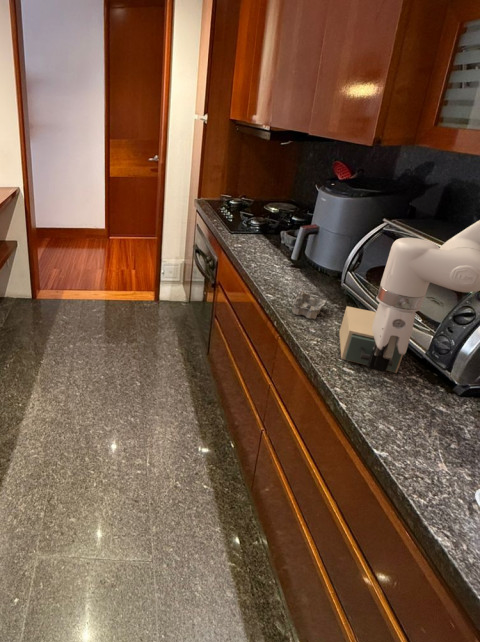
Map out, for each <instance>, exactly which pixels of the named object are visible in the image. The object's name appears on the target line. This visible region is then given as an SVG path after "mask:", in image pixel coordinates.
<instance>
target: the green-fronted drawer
mask: <svg viewBox="0 0 480 642" xmlns="http://www.w3.org/2000/svg"><path fill="white" fill-rule="evenodd" d="M374 342H375V339H370V338H366V337H362V336H361V335H356V334H352V335H351V338H350V341H349V345H348V348H347V352H346V355H345V359H346V360H345V361H348V360H350V361H349V362H352V361H354V362H353V363H356V362H358V363H357V364H360V363H362V364H361V365H364V364H366V365H365V366H368V361H369V358H370V355H371V352H372V350H373V345H374ZM373 351H375V350H373ZM400 358H401V354H399V352H398V349H397V346H395V349H394V353H393V357H392V360H390V361H389V364H388V367H387V369H386V371H387V370H389V371H388V372H391V371H393V372H392V373H395V372H396V369H397V366H398V363H399V361H400Z"/></svg>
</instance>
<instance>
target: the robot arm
mask: <svg viewBox="0 0 480 642" xmlns="http://www.w3.org/2000/svg"><path fill="white" fill-rule="evenodd" d="M430 283H431V284H434V285H437V286H439V287H443V288H445V289H449V290H452V291H455V292H461V293H475V292H476V293H477V292H479V291H480V219H479V220H477V221H476V222H474V223H472V224H471V225H469V226H468V227H466V228H465V229H463V230H462V231H460V232H459V233H457V234H455V235H454V236H452V237H451V238H449V239H448V240H446V241H445V242H444V243H443V244H442V245H441V246H440V247H439V246H438V245H437V244H436V243H434V242H432V241H429V240H426V239H424V238H423V239H422V238H419V237H418V238H416V237H401V238H398V239H396V240H395V241H393V243H392V245H391V247H390V250H389V254H388V257H387V261H386V264H385V268H384V271H383V273H382V277H381V281H380V284H379V287H378V290H377V294H376V297H375V299H376V302H378V306H377V309H376V310H375V312H376V314H375V317H374V321H373V325H372V331H373V335H374V339H375V342H374V345H373V350H375V351H373V350H372V352H371V355H370V358H369V361H368V365H367V366H368V369H369V370H372V371H378V372H382V373H386V372H387V370H386V369H387V367H388V364H389V361H390V360H392V357H393V353H394V349H395V346H397V349H398V352H399V354H401V355H403V356H404V355H405V354H406V353H407V350H408V347H409V343H410V341H411V336H412V334H413V329H414V325H415V319H416V312H419V311H420V310H421V308H422V305H423V302H424V299H425V296H426V294H427V291H428V288H429V285H430Z"/></svg>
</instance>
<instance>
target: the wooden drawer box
mask: <svg viewBox="0 0 480 642" xmlns="http://www.w3.org/2000/svg"><path fill="white" fill-rule="evenodd" d="M375 314H376V311H372V310H369V309H368V310H367V309H362V308H358V307H353V306H348V305H346V307H345V311H344V315H343V317H342V320H341V325H340V329H339V346H340V347H339V348H340V357H341V358H340V359H341V360H345V361H349V362H351V363H352V362H353V363H356V364H360V365H364V366H367V365H366V364H362V363H358V362H354V361H350V360H346V359H345V355H346V352H347V348H348V345H349V341H350V338H351V335H352V334H356V335H361V336H365V337H369V338H374V335H373V331H372V325H373V321H374V317H375ZM403 356H404V355H401V358H400V361H399V363H398V366H397V369H396V372H393V371H389V370H386V372H387V371H388V372H392V373H396V374H397V373H398V370H399V368H400V365H401V362H402V359H403Z"/></svg>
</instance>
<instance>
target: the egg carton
mask: <svg viewBox="0 0 480 642" xmlns="http://www.w3.org/2000/svg"><path fill="white" fill-rule="evenodd" d="M326 302H327V301H326V300H325V299H322V298H317V297H316V296H314V298H313V297H311V294H310V293H308V292H305V290H301V292H299V294H298V296H296V297H295V299H294V300H293V302H292V304H291V306H292V309H291V312H292V313H293V314H294V315H297V316H304V317H305V318H307V319H309V320H310V319H313V320H316V319H317V316H318V315H319V314H320V312H321V311H322V310H323V308H324V306H325V304H326Z"/></svg>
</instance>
